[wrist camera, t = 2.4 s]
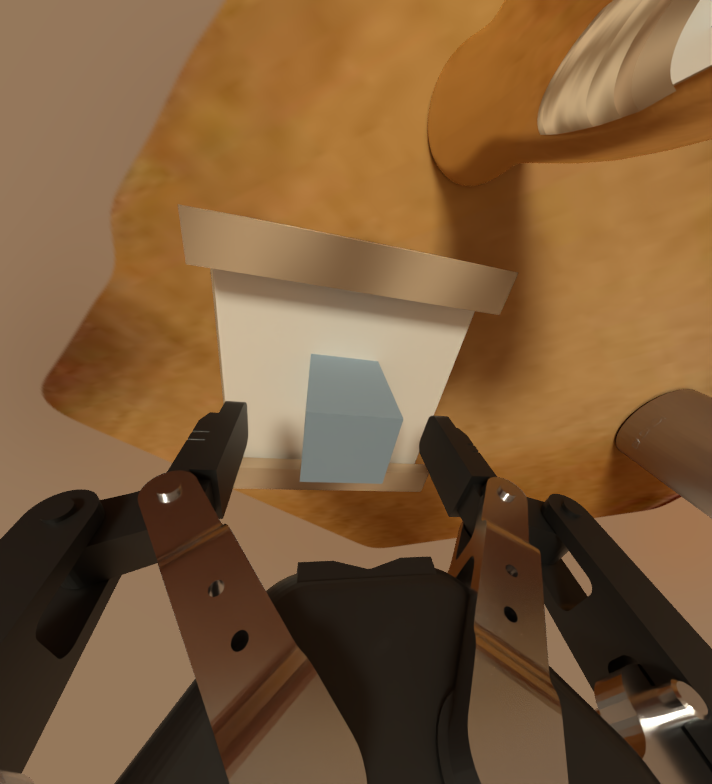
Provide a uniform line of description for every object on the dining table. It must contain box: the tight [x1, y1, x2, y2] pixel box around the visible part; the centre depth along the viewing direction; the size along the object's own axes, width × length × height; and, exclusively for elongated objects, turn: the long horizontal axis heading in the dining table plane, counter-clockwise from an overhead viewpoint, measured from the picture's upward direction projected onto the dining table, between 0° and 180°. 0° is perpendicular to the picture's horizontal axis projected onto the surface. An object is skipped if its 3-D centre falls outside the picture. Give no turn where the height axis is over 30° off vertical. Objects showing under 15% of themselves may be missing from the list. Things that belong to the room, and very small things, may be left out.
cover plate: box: [213, 269, 475, 484], centre depth 13 cm, size 12×12×6 cm
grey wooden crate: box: [178, 205, 518, 492], centre depth 17 cm, size 13×14×8 cm
